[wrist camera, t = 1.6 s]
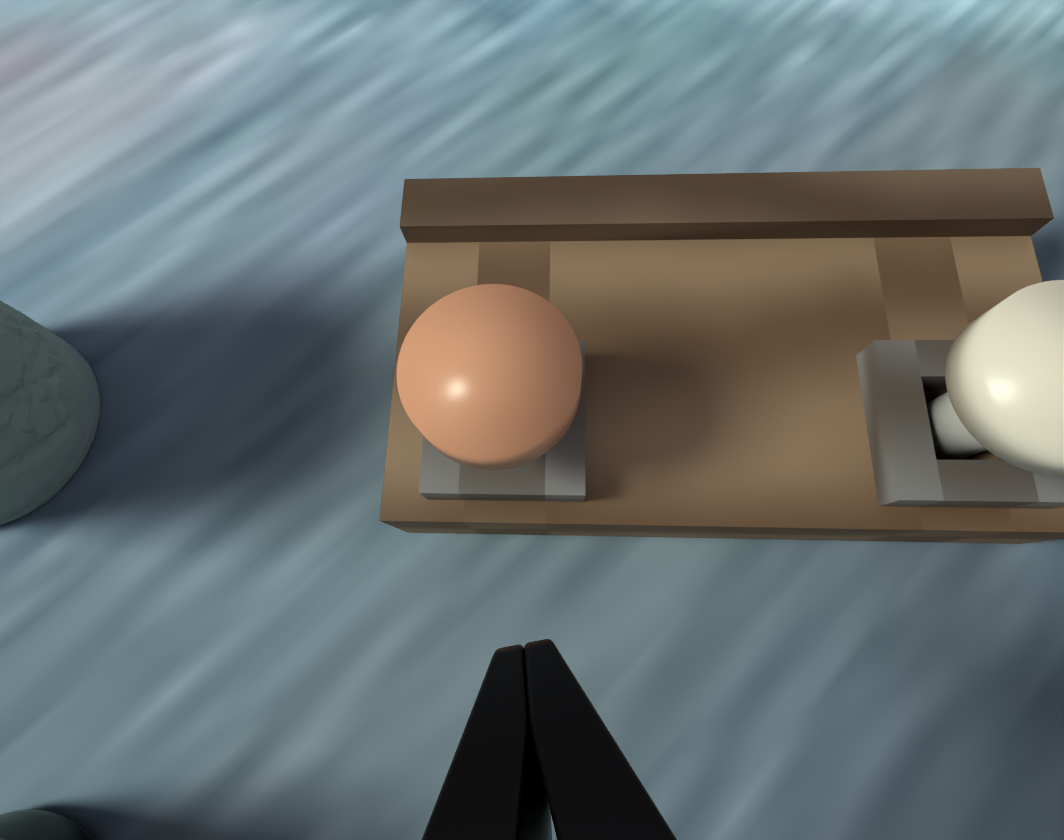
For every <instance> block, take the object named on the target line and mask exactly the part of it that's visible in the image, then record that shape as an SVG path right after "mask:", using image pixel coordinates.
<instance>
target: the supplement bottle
mask: <svg viewBox="0 0 1064 840" xmlns="http://www.w3.org/2000/svg"><path fill="white" fill-rule="evenodd" d="M0 840H94V839H93V838H92V837H91V836H90V834H89V833H88V832H87V831H85V830H84V829H83V828H82V827H81V826H80V825H78V824H77V823H76V822H74V821H72V820H71V819H69V818H67V817H65V816H62V815H60V814H57V813H53V812H50V811H44V810H20V811H13V812H9V813H5V814H2V815H0Z"/></svg>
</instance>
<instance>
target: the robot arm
mask: <svg viewBox="0 0 1064 840" xmlns="http://www.w3.org/2000/svg"><path fill="white" fill-rule="evenodd" d="M551 816H552V820H553V824H554V828H555V832H556V836H557V840H677V839H676V838H675V836H674V834H673V833H672V831H671V830H670V828H669V826H668V825H667V823H666V822H665V820H664V818H663V817H662V815H661V814H660V812H659V810H658V809H657V807H656V806H655V804H654V802H653V801H652V799H651V798H650V796H649V794H648V793H647V791H646V790H645V788H644V786H643V785H642V783H641V782H640V780H639V778H638V777H637V775H636V774H635V772H634V771H633V769H632V767H631V766H630V764H629V763H628V761H627V759H626V758H625V756H624V755H623V753H622V751H621V750H620V748H619V747H618V745H617V743H616V742H615V740H614V739H613V737H612V735H611V734H610V732H609V731H608V729H607V727H606V726H605V724H604V723H603V721H602V719H601V718H600V716H599V715H598V713H597V711H596V710H595V708H594V707H593V705H592V704H591V702H590V700H589V699H588V697H587V696H586V694H585V692H584V691H583V689H582V688H581V686H580V684H579V683H578V681H577V680H576V678H575V676H574V675H573V673H572V672H571V670H570V668H569V667H568V665H567V664H566V662H565V660H564V659H563V657H562V656H561V654H560V652H559V651H558V649H557V648H556V646H555V644H554V643H553V642H552V641H551V640H549V639H544V640H539V641H534V642H529V643H527V644H526V645H525V647H523V646H521V645H514V646H509V647H504V648H499V649H497V650H496V651H495V653H494V655H493V657H492V660H491V662H490V665H489V667H488V670H487V672H486V675H485V678H484V680H483V683H482V685H481V688H480V691H479V693H478V696H477V698H476V701H475V703H474V706H473V709H472V711H471V714H470V716H469V719H468V722H467V724H466V727H465V729H464V732H463V734H462V737H461V740H460V742H459V745H458V747H457V750H456V752H455V755H454V758H453V760H452V763H451V765H450V768H449V771H448V773H447V776H446V778H445V781H444V783H443V786H442V789H441V791H440V794H439V796H438V799H437V802H436V804H435V807H434V809H433V812H432V814H431V817H430V820H429V822H428V825H427V827H426V830H425V833H424V835H423V838H422V840H552V829H551Z"/></svg>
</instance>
